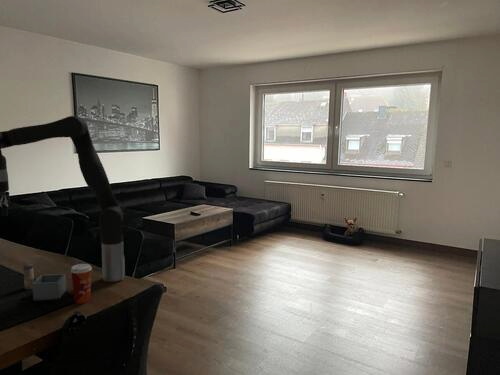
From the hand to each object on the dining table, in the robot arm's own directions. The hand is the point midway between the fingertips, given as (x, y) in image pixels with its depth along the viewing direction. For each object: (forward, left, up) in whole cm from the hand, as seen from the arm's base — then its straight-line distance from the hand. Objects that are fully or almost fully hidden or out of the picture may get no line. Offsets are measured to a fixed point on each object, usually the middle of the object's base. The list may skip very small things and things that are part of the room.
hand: (0, 218), depth 156 cm
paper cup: (-37, +22, -30) cm, 52 cm away
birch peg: (-12, +6, -29) cm, 32 cm away
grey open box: (-23, +15, -29) cm, 40 cm away
